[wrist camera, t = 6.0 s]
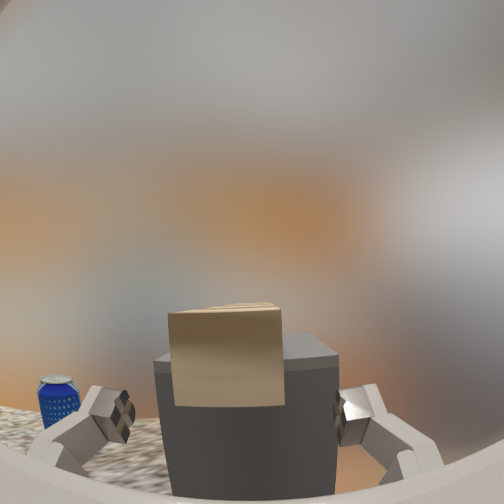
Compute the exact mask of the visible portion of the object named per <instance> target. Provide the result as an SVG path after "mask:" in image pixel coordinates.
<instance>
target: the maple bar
mask: <svg viewBox="0 0 504 504" xmlns="http://www.w3.org/2000/svg"><path fill="white" fill-rule="evenodd" d="M281 321H282V320H281V309H279V308H278V307H276V306H275V305H273V304H271V303H270V302H265V303H245V304H231V305H225V306H218V307H211V308H204V309H197V310H190V311H182V312H175V313H168V328H169V344H170V358H171V370H172V381H173V391H174V401H175V406H193V407H259V406H279V405H285V394H284V366H283V342H282V322H281Z"/></svg>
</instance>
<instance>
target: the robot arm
mask: <svg viewBox="0 0 504 504" xmlns="http://www.w3.org/2000/svg"><path fill="white" fill-rule="evenodd" d="M10 1H11V0H0V13H1V12H2V11H3V10H4V9H5V7H6V6H7V5H8V4H9V2H10ZM335 397H336V401H335V402H334V404H333V420H334V425H335V426H336V427H338V429H337V439H338V443H339V447H344V446H352V445H359V444H361V446H362V447H363V448H364V449H365V450H366V451H367V452H368V453H369V454H371V456H373V457H374V458H375V459H376V460H377V461H378V462H379V463H380V464H381V465H382V466H383V467H384V468H385V469H386V470H387V472H386V474H385V475H384V477H383V478H382V480H381V481H380V483H379V485H380V486H376V487H372V488H367V489H362V490H357V491H352V492H346V493H341V494H334V495H327V496H320V497H311V498H302V499H289V500H272V501H225V500H208V499H195V498H186V497H177V496H170V495H163V494H156V493H151V492H145V491H140V490H135V489H130V488H125V487H121V486H117V485H113V484H109V483H105V482H101V481H97V480H94V479H90V478H89V475H88V473H87V472H86V471H85V470H84V469H83V468H82V467H81V466H82V465H83V464H85V463H86V462H87V461H88V460H89V459H90V458H91V457H93V456H94V455H95V454H96V453H97V452H98V451H99V450H100V449H101V448H103V447H104V446H105V445H106V444H107V443H108V441H110V442H115V443H121V444H126V443H127V440H128V437H129V435H130V430H129V427H130V426H131V425H133V423H134V420H135V408H134V406H133V404H132V402H130V401H129V400H128V398H129V395H128V393H127V391H126V390H121V389H114V388H108V387H101V386H95V385H94V386H92V387H91V388H90V390H89V392H88V393H87V395H86V397H85V399H84V401H83V403H82V404H81V406H80V408H79V410H78V412H76V411H75V412H73V413H71V414H70V415H68V416H67V417H65V418H63V419H62V420H60V421H59V422H57V423H55V424H54V425H52V426H50V427H49V428H47V429H45V430H44V431H42V432H41V433H39V434H37V436H36V437H35V439H34V441H33V443H32V445H31V447H30V448H29V450H28V452H27V454H26V455H25V454H23V453H21V452H19V451H17V450H14V449H12V448H10V447H8V446H6V445H4V444H2V443H0V504H504V439H503V440H501V441H499V442H497V443H495V444H493V445H491V446H489V447H487V448H485V449H483V450H481V451H479V452H476V453H475V454H472V455H470V456H468V457H465V458H463V459H460V460H458V461H456V462H453V463H450V464H448V465H446V466H444V463H443V461H442V459H441V456H440V454H439V451H438V449H437V447H436V445H435V442H434V441H433V440H431V439H430V438H428V437H427V436H425V435H423V434H422V433H420V432H419V431H417V430H416V429H414V428H413V427H411V426H410V425H408V424H407V423H405V422H404V421H402V420H401V419H399V418H398V417H396V416H395V415H393V414H391V413H390V414H388V413H387V410H386V408H385V405H384V403H383V400H382V398H381V395H380V393H379V390H378V388H377V385H376V384H369V385H363V386H356V387H349V388H341V389H337V390H336V394H335Z"/></svg>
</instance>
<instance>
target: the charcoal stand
mask: <svg viewBox="0 0 504 504" xmlns="http://www.w3.org/2000/svg"><path fill="white" fill-rule="evenodd" d="M282 342H283V366H284V394H285V405H279V406H259V407H193V406H175V401H174V391H173V381H172V370H171V358H170V352H169V353H167V354H165V355H164V356H162V357H160V358H158V359H156V360H154V361H153V363H154V373H155V384H156V393H157V402H158V410H159V418H160V425H161V431H162V438H163V444H164V450H165V456H166V462H167V467H168V472H169V478H170V482H171V487H172V492H173V496H177V497H186V498H195V499H208V500H225V501H272V500H289V499H302V498H311V497H320V496H327V495H334V492H335V481H336V467H337V448H338V439H337V429H338V427H336V426H335V425H334V420H333V404H334V402H335V401H336V397H335V394H336V390H337V389H339V355H338V354H337V353H336V352H334V351H333V350H332V349H330V348H329V347H328V346H326V345H325V344H323V343H322V342H321V341H320V340H318V339H316V338H315V337H314V336H313V335H311V334H310V333H309V332H304V333H290V334H282Z"/></svg>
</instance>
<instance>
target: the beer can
mask: <svg viewBox="0 0 504 504" xmlns="http://www.w3.org/2000/svg"><path fill="white" fill-rule="evenodd" d="M37 394H38V400H39V405H40V410H41V415H42V419H43V424H44V428H45V429H47V428H49V427H50V426H52V425H54V424H55V423H57V422H59V421H60V420H62V419H63V418H65V417H67V416H68V415H70V414H71V413H73V412H75V411H76V412H78V410H79V408H80V406H81V402H80V396H79V390H78V388H77V386H76V385H75V384H74V382H73V381H72V377H70V376H67V375H61V374H51V375H45V376H42V377H40V383H39V386H38V388H37Z"/></svg>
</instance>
